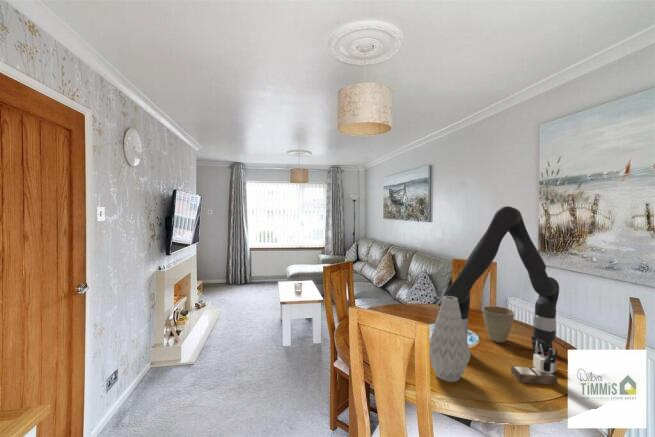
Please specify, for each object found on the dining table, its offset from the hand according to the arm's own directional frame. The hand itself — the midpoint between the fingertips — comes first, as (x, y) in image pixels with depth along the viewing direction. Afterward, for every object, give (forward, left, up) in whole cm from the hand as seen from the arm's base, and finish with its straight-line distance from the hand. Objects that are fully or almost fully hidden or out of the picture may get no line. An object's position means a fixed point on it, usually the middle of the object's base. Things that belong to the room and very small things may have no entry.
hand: (542, 367), depth 126 cm
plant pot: (-1, +38, -5) cm, 38 cm away
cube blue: (+7, +9, -5) cm, 12 cm away
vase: (-38, -3, -5) cm, 39 cm away
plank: (-3, 0, -5) cm, 6 cm away
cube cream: (0, 0, -1) cm, 1 cm away
